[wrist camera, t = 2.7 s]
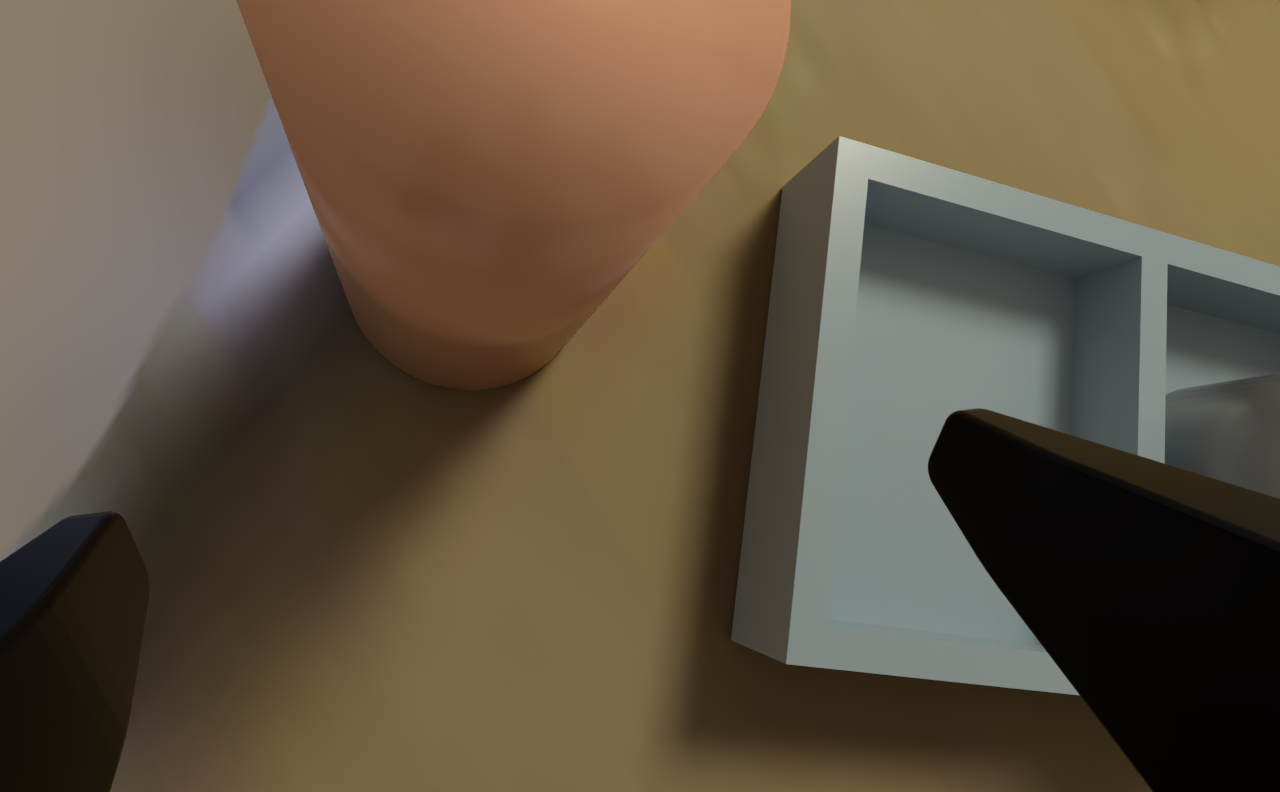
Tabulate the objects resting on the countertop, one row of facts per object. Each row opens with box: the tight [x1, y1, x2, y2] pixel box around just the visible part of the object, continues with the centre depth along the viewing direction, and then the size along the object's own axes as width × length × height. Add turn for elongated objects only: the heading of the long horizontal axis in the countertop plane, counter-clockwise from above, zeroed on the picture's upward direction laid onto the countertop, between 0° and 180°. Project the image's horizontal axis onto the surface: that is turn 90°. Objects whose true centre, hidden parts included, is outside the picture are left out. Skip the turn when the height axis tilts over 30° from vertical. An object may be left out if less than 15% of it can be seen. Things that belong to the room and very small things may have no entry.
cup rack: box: [731, 136, 1280, 695], centre depth 24 cm, size 14×22×4 cm, turn 81°
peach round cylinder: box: [237, 0, 791, 390], centre depth 15 cm, size 7×7×13 cm
